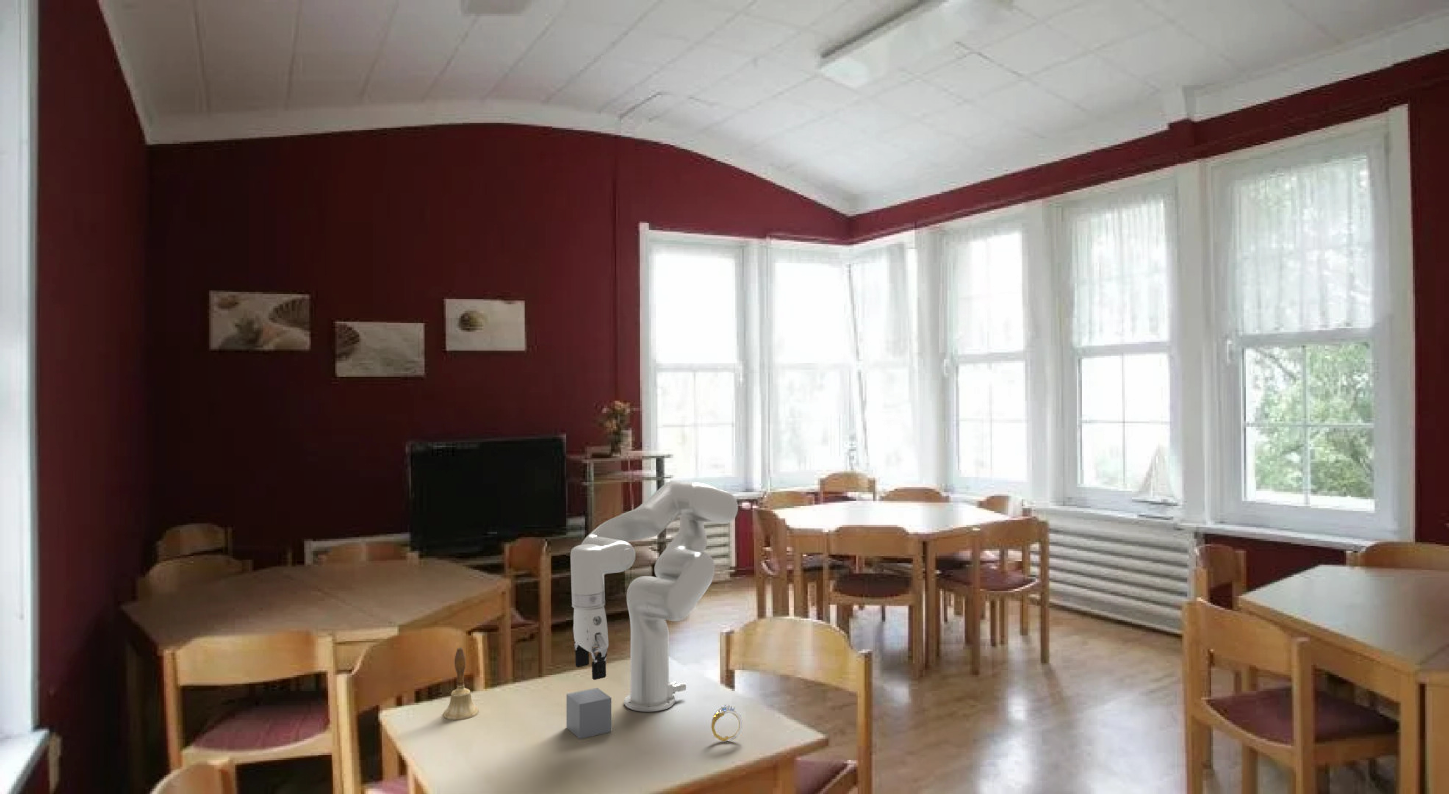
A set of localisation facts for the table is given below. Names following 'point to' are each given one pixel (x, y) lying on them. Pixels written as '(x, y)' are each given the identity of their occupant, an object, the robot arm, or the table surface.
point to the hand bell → (460, 694)
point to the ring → (724, 711)
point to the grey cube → (588, 713)
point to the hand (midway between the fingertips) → (590, 672)
